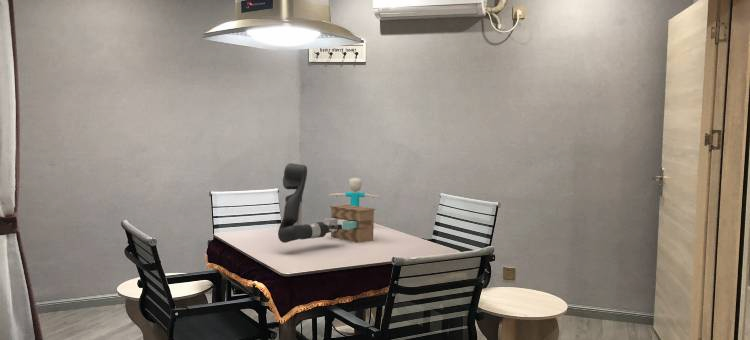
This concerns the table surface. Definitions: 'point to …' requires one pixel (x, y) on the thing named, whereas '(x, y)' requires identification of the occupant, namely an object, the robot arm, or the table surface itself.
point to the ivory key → (342, 222)
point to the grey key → (331, 221)
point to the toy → (354, 186)
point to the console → (354, 214)
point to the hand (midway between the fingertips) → (340, 226)
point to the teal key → (350, 225)
